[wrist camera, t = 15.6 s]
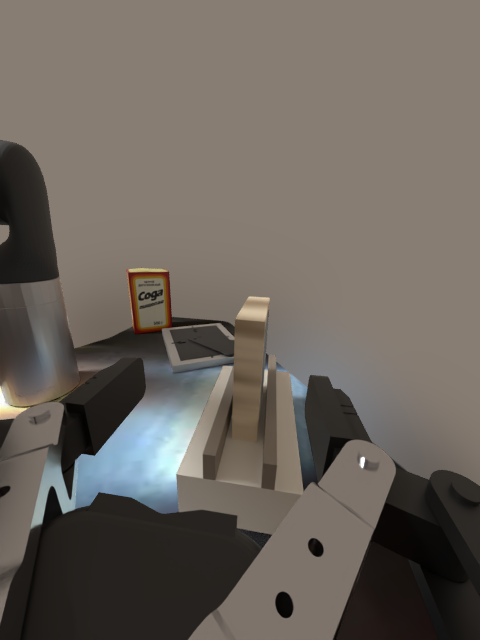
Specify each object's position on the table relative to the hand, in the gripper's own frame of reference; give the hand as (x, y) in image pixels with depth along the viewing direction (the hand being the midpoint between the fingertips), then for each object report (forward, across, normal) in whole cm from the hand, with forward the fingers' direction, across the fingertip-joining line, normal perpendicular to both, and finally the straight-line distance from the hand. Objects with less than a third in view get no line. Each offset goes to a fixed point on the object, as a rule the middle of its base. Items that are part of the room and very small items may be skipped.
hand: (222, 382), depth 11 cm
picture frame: (+39, +13, +18) cm, 45 cm away
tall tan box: (+12, -1, +12) cm, 17 cm away
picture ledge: (+13, -1, +17) cm, 21 cm away
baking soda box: (+48, +29, +18) cm, 59 cm away
